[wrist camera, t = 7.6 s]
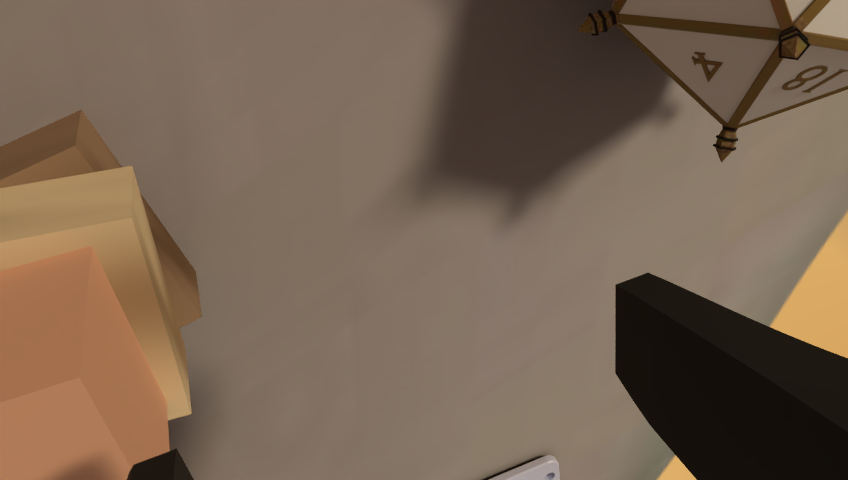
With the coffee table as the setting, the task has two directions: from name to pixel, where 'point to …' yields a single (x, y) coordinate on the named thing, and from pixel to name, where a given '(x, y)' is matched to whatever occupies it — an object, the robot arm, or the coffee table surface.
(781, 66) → the game die
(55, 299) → the terracotta block
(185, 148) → the coffee table surface
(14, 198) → the oak slab
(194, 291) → the walnut slab
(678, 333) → the robot arm
